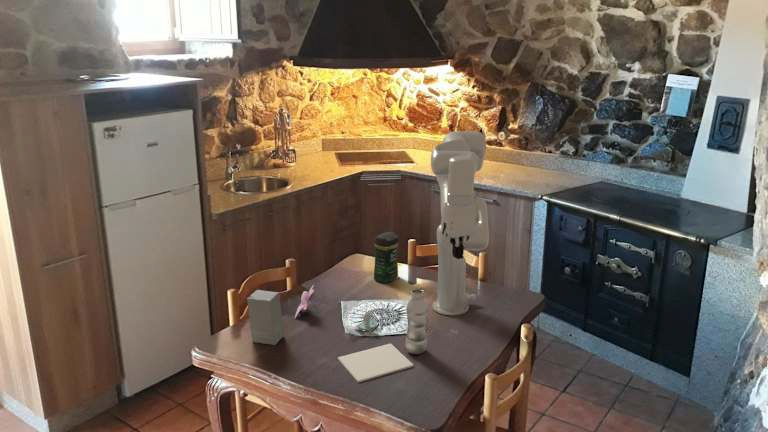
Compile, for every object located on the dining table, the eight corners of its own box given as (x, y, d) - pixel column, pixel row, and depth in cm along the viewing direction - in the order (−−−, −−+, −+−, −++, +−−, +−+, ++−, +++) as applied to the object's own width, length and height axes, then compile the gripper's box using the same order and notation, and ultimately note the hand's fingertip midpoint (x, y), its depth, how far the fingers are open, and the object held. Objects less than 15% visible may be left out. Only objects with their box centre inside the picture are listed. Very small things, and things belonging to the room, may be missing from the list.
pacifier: (350, 330, 200) (364, 335, 197) (349, 312, 199) (363, 317, 195) (365, 322, 206) (379, 327, 202) (365, 305, 204) (378, 309, 200)
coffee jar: (386, 285, 234) (387, 239, 228) (370, 280, 238) (370, 235, 232) (401, 277, 241) (402, 232, 235) (385, 272, 246) (385, 228, 240)
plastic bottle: (403, 346, 190) (404, 287, 184) (425, 345, 190) (426, 286, 184) (406, 357, 184) (407, 296, 177) (428, 356, 184) (430, 295, 178)
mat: (390, 345, 191) (390, 343, 190) (413, 366, 179) (413, 364, 179) (337, 359, 183) (337, 357, 182) (357, 382, 171) (357, 380, 171)
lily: (307, 304, 220) (293, 285, 216) (334, 298, 214) (320, 278, 210) (295, 328, 210) (280, 308, 206) (322, 322, 205) (307, 302, 201)
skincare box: (284, 336, 195) (282, 291, 191) (273, 347, 189) (270, 300, 184) (261, 332, 198) (258, 287, 193) (249, 342, 192) (246, 296, 187)
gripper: (473, 192, 185) (470, 249, 191) (431, 198, 179) (430, 257, 184) (488, 198, 179) (485, 257, 185) (445, 205, 172) (443, 265, 178)
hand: (457, 257), depth 184 cm, fingers closed
